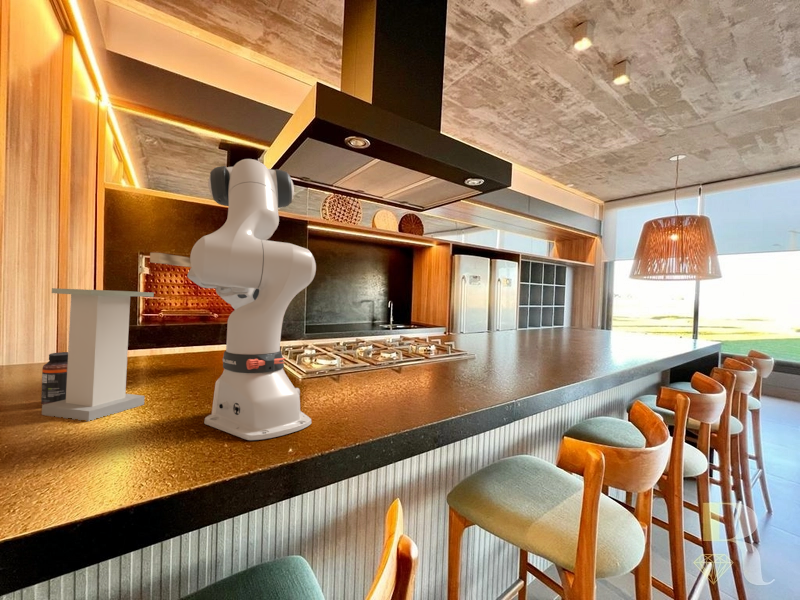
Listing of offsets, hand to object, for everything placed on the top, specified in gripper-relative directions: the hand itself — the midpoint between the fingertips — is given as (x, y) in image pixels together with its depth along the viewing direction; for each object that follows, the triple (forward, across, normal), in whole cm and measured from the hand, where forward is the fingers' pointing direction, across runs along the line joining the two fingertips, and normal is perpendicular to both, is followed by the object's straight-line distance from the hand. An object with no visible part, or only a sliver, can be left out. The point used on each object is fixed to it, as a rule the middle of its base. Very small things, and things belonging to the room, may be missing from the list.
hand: (205, 263), depth 105 cm
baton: (+5, 0, +5) cm, 7 cm away
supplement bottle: (+8, -11, +45) cm, 47 cm away
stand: (+8, 0, +46) cm, 46 cm away
